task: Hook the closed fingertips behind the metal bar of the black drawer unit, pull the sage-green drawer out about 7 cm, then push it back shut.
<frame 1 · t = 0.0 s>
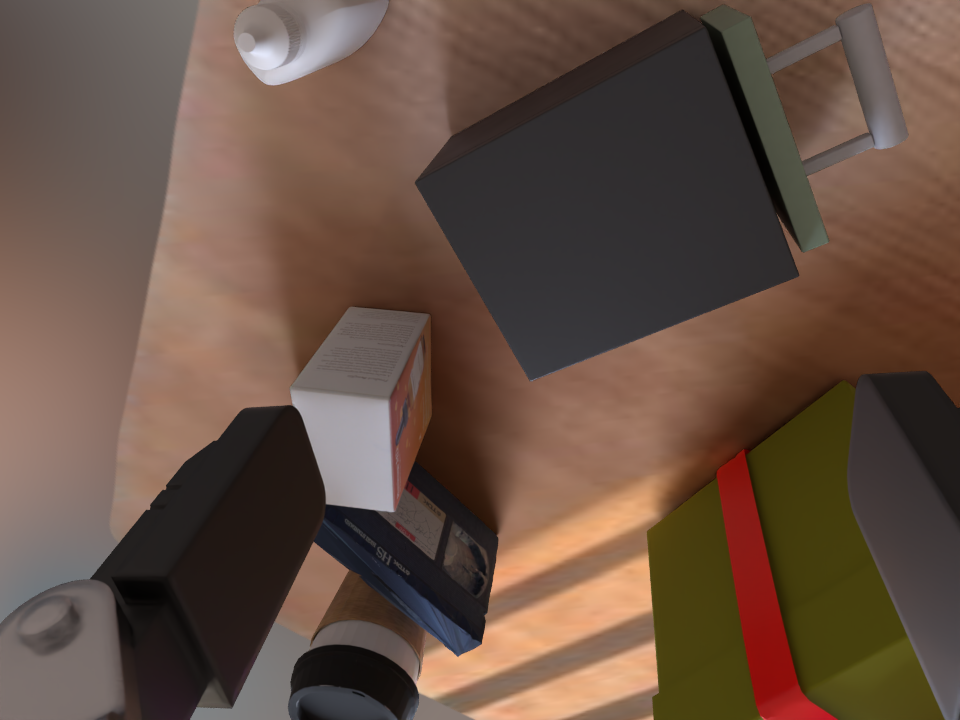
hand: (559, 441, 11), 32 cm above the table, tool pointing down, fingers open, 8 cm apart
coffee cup: (402, 549, 57), on the table
small box: (393, 359, 49), on the table
drawer: (693, 157, 35), point 5 cm above the table, slide at 0.5 cm
gift box: (822, 522, 50), on the table
vhs cassette tape: (405, 467, 53), on the table
cabinet: (604, 174, 40), on the table
eye dropper bottle: (344, 16, 38), on the table
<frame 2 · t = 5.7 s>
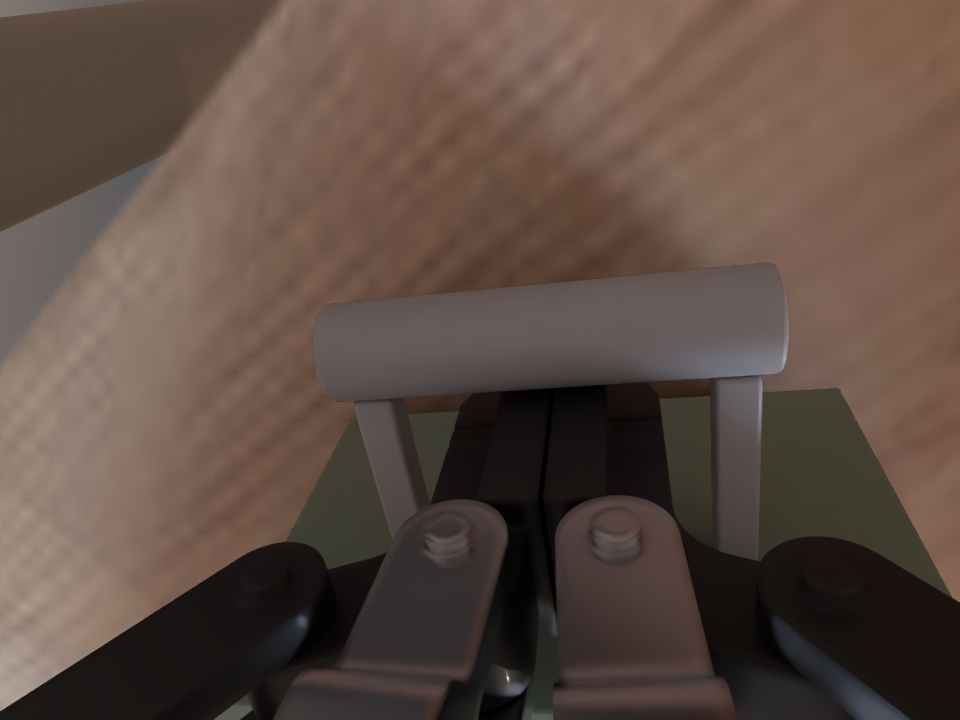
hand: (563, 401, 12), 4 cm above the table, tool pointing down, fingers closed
drawer: (593, 669, 14), point 5 cm above the table, slide at 1.7 cm
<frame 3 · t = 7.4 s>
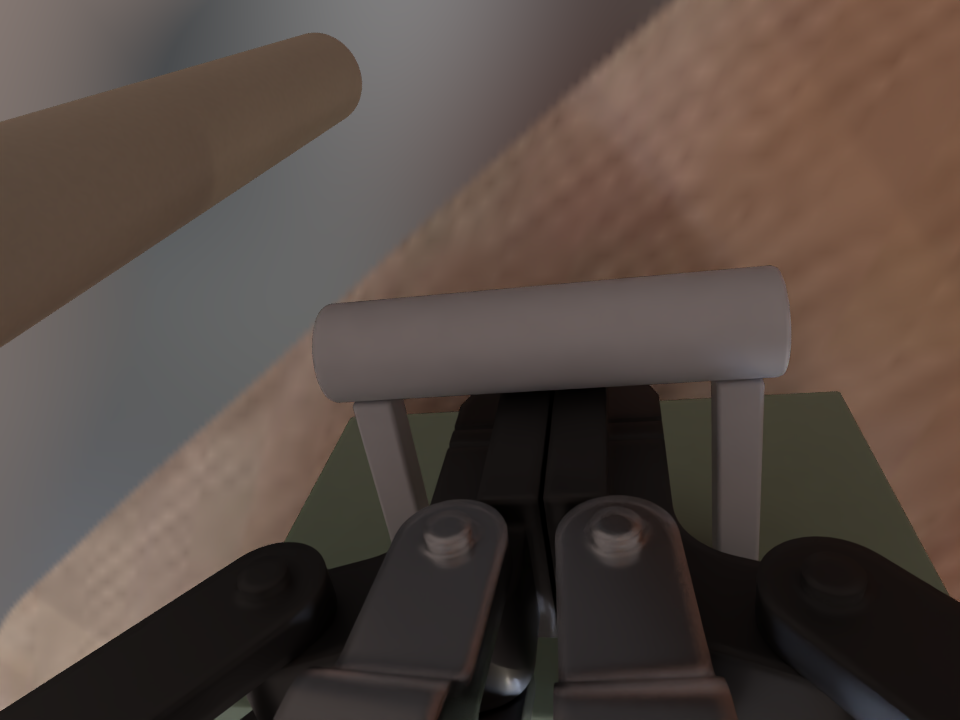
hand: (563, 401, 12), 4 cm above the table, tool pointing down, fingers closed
drawer: (591, 672, 14), point 5 cm above the table, slide at 7.4 cm, touching gripper
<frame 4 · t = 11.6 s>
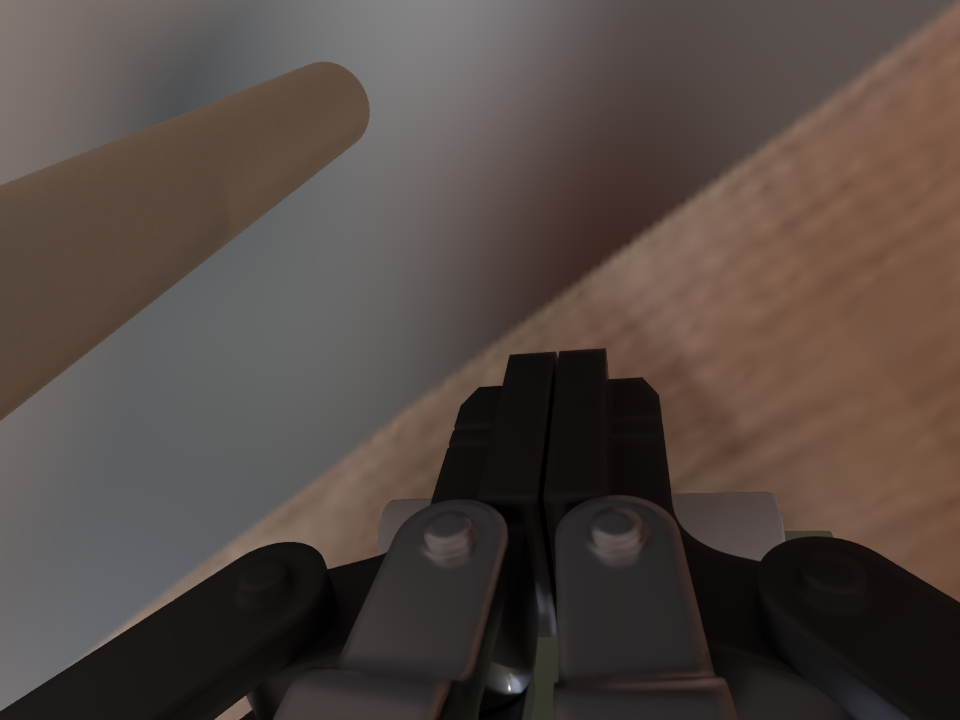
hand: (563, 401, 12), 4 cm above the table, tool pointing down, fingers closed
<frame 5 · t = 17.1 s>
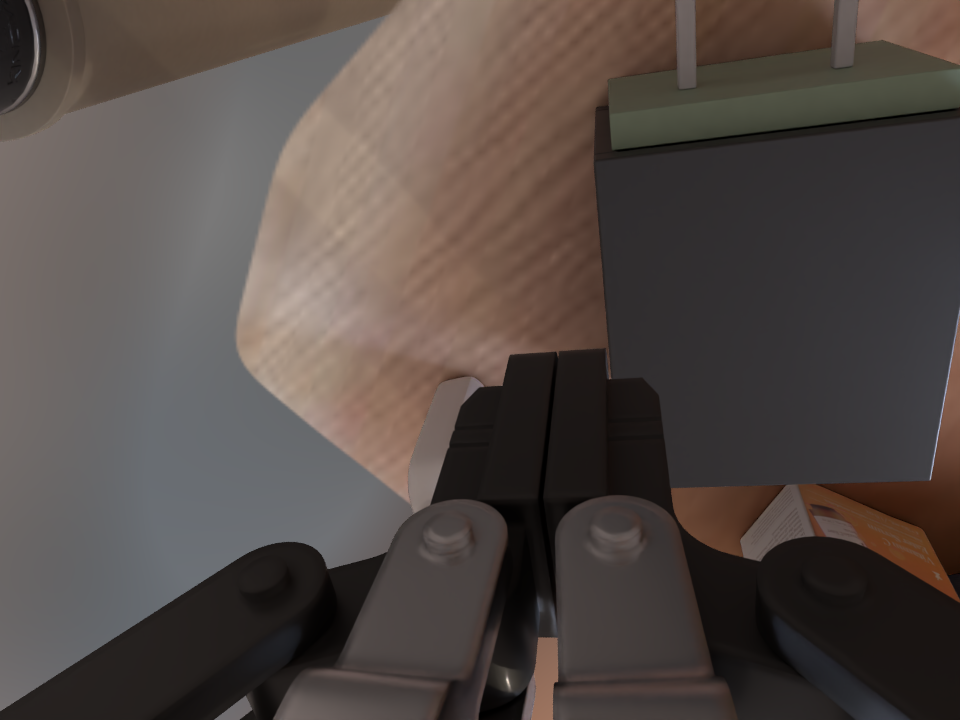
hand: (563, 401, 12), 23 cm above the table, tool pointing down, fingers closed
small box: (825, 530, 41), on the table
drawer: (755, 182, 27), point 5 cm above the table, slide at 0.0 cm, touching cabinet
cabinet: (734, 242, 33), on the table
eye dropper bottle: (472, 414, 40), on the table
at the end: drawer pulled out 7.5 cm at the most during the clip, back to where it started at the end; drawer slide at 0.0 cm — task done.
